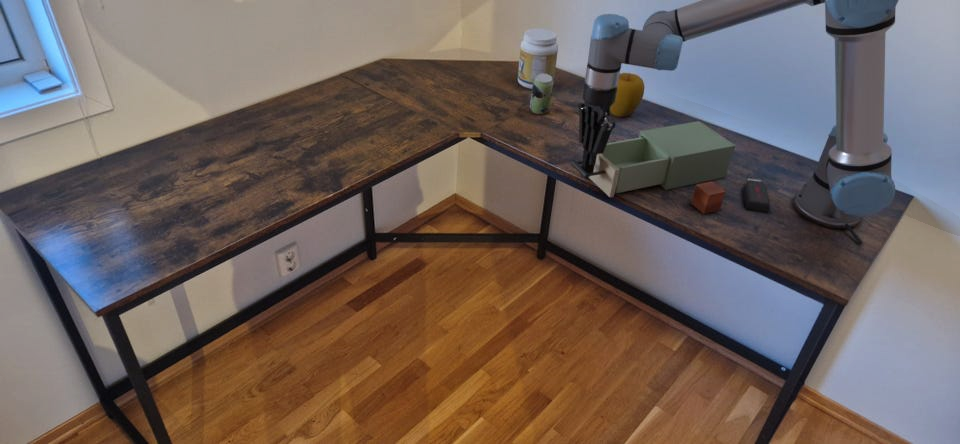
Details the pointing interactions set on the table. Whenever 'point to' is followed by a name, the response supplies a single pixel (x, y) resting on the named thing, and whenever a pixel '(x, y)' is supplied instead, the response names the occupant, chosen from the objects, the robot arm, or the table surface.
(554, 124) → the table surface
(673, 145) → the cabinet
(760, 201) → the usb drive
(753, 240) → the table surface
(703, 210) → the block
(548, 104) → the beverage can
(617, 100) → the apple
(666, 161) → the drawer
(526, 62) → the supplement tub
